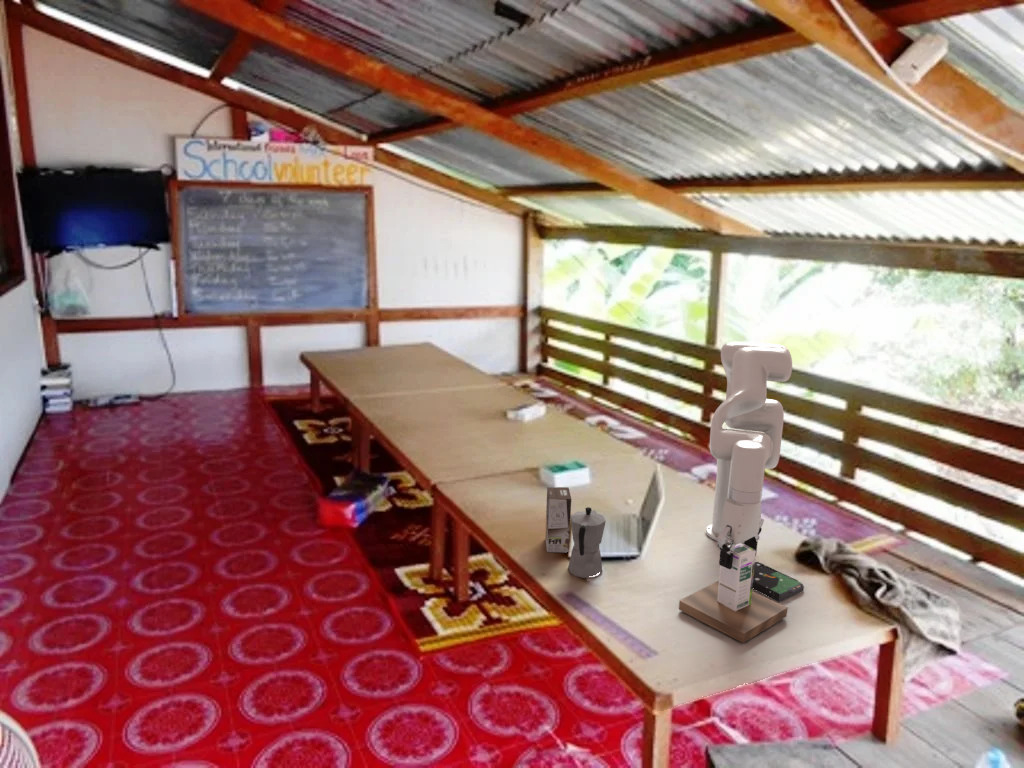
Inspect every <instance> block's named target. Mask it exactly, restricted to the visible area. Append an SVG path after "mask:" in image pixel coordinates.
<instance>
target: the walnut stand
mask: <svg viewBox="0 0 1024 768" xmlns="http://www.w3.org/2000/svg"><path fill="white" fill-rule="evenodd" d="M718 585H719V580H717V581H715V582H713V583H711V584H709V585H707V586H706V587H703V588H701V589H700V590H697V591H696V592H694V593H692V594H690V595H688V596H686V597H684V598H682V599H680V600H678V601H679V604H678V610H680V611H681V612H682V613H685V614H686V615H688V616H691V617H693V618H695V619H696V620H699V622H702V623H703V624H706V625H708V626H710V627H711V628H713V629H715V630H717V631H720V632H721V633H723V634H725V635H727V636H728V637H730V638H732V639H733V640H736V641H739V642H740V643H741V644H744V643H746V642H747V641H749V640H750V639H752V638H754V637H755V636H757V635H759V634H760V633H762V632H763V631H766V630H767V629H768V628H770V627H771V626H773V625H776V624H777V623H778V622H780V621H782V620H783V619H785V618H786V617H787V616H788V608H789V607H787V606H785V605H783V604H781V603H780V602H778V601H776V600H773V599H771V598H769V597H768V598H767V597H765V595H763V594H759V593H757V592H755V591H753V590H752V598H751V605H749V606H746V607H744V608H742V609H739V610H737V611H734V610H732V609H730V608H728V607H726V606H724V605H723V604H721V603H719V602H718V601H717V597H718Z"/></svg>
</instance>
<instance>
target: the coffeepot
mask: <svg viewBox="0 0 1024 768" xmlns="http://www.w3.org/2000/svg"><path fill="white" fill-rule="evenodd" d="M584 509H585V511H577V512H574V513H573V514H571V516H570V527H571V531H572V532H571V533H572V540H573V543H574V544H573V546H572V549H571V553H570V558H569V564H568V567H567V568H568V570H569V572H570V574H571V575H573V576H575V577H576V578H582V579H588V578H587V577H589V576H593V575H596V574H597V573H599V572H600V573H601V574H602V573H603V564H602V555H601V549H600V545H601V544H602V541H603V540H602V539H603V536H604V531H605V525H606V518H605V517H604V515H603V514H600V513H598V512H597V511H596V510H592V507H589V506H587V507H585V508H584Z"/></svg>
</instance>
